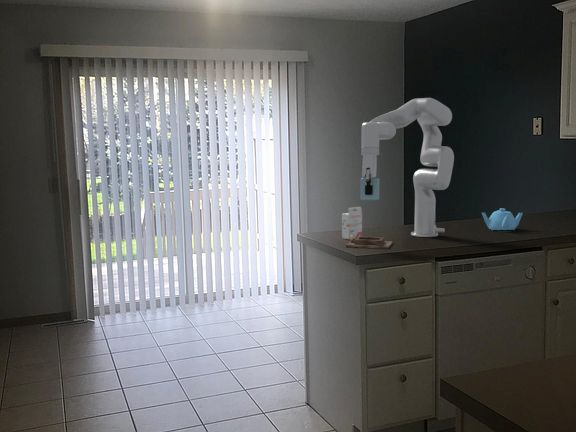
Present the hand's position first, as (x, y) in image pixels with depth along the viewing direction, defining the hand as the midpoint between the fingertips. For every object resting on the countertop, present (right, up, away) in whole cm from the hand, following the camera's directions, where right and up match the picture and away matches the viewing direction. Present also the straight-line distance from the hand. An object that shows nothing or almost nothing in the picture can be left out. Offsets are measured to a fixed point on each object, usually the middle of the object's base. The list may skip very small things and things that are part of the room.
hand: (369, 193), depth 274 cm
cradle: (0, -22, +3) cm, 22 cm away
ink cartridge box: (-5, -20, +23) cm, 31 cm away
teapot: (+72, -17, +46) cm, 87 cm away
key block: (0, -2, 0) cm, 2 cm away
